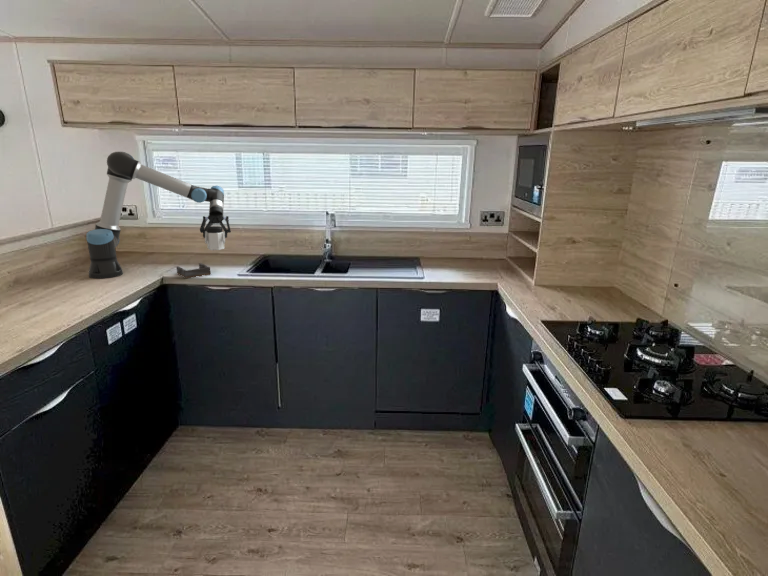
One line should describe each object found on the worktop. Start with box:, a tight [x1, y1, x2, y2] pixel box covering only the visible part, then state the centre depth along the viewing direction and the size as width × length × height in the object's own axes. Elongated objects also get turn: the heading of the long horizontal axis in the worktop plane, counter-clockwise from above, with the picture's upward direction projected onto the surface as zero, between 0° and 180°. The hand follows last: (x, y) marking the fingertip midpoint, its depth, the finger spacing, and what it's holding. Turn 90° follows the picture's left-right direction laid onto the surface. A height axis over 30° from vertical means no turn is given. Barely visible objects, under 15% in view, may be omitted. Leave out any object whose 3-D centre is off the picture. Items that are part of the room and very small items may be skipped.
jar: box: [206, 225, 225, 251], centre depth 238 cm, size 9×8×12 cm
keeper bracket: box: [176, 262, 212, 279], centre depth 231 cm, size 13×13×4 cm
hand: (214, 242), depth 236 cm, fingers closed on jar, 9 cm apart
